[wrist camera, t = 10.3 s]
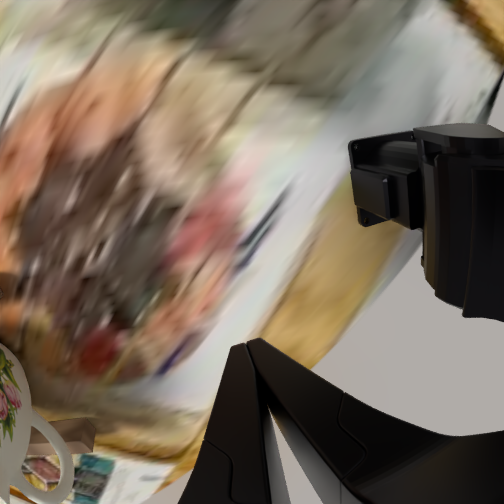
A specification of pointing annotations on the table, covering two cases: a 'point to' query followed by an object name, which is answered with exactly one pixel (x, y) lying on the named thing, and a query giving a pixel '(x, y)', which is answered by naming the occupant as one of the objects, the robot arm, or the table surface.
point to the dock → (63, 435)
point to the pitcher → (25, 436)
